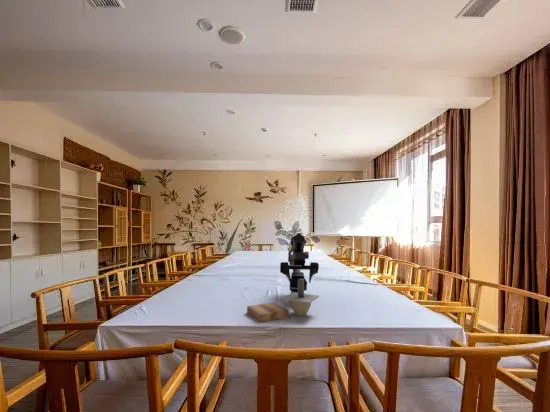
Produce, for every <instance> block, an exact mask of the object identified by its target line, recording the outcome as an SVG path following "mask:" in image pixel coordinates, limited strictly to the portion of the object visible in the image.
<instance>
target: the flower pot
mask: <svg viewBox="0 0 550 412" xmlns="http://www.w3.org/2000/svg"><path fill="white" fill-rule="evenodd" d="M289 302H290V306H291V309H292V311H293V313H294V315H296V316H299V317H303V316H307V314H308V312H309V311H310V308H311V306H312V302H311V303H310V304H308V303H301V302H293V301H289Z"/></svg>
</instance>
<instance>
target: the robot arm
mask: <svg viewBox="0 0 550 412" xmlns="http://www.w3.org/2000/svg"><path fill="white" fill-rule="evenodd" d="M306 244H307V240H306V238H305V236H304V235H303V234H301V233H300V232H299V233H298V232H297V233H296V235H294V236H293V235H292V236H291V238H290V246H291V247H290V249H289V251H288V255H287V259H288V260H287V261H281V262H280V263H279V264H280V265H279V266H280V267H279V271H280V272H279V273H280V274H283V275H284V276H286V278H287V280H288V282H289V291H290V293H289V294H291V293H293V292H295V293H298V279H304V292H306V291H307V290H308V289H307V288H308V282H309V284H311V283H312V278H313V277H314V276H315V275H316V274H318V273H319V268H320V265H319V263H318V262H316V261H315V262H314V261H313V262H312V261H311V262H309V265H308V264H307V265H306V260H308V259H309V257H310V256H309V251H305V250H304V249H305V245H306ZM291 270H292V272H290V271H291ZM301 270H302V272H301ZM303 270H304V271H306V270H307V271H309V277H308V278H309V279H308V281H307V279H306V278H305V275H304V272H303Z"/></svg>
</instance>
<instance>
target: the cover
mask: <svg viewBox="0 0 550 412" xmlns="http://www.w3.org/2000/svg"><path fill="white" fill-rule="evenodd" d="M290 293H291V292H290ZM290 293H289V294H288V295H287V294H286V296H284V297H281V300H282V301H286V302H287V301H289V302H290V301H293V302H301V303H308V304H310V303H311V304H312V303H313V302H314V301H315V300H317V299H318V298H320V296H319V295H316V294H311V293H305V291H304V279H298V293H295V292H293V293H291V294H290Z"/></svg>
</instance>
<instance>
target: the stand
mask: <svg viewBox="0 0 550 412" xmlns="http://www.w3.org/2000/svg"><path fill="white" fill-rule="evenodd" d="M246 309H247V310H246V314H248V315H249V316H251V318H252V317H253V319H255V320H257V321H260V323H263V322H264V323H265V322H269V321H274V320H275V321H276V320H281V319H286V318H290V310H289V309H288V308H286V307H285V306H284V307H283V306H282V305H279V304H278V303H276V302H267V303H266V302H265V303H260V304H253V305H247V306H246Z"/></svg>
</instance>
